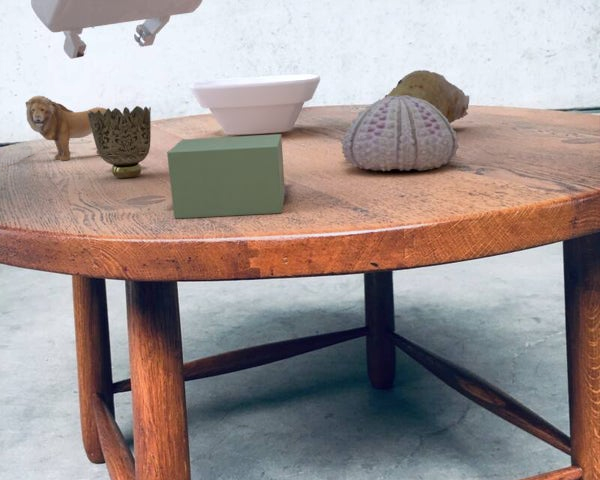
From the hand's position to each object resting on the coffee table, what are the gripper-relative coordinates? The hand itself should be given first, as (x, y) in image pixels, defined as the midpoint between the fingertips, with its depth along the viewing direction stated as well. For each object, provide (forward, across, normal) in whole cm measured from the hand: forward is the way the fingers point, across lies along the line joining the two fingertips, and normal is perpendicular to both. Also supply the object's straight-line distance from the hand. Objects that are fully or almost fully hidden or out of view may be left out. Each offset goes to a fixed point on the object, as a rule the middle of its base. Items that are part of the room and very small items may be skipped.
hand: (108, 48), depth 100 cm
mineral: (+9, -44, +17) cm, 48 cm away
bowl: (+27, -40, -4) cm, 48 cm away
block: (-4, +5, +27) cm, 28 cm away
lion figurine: (+30, -10, -10) cm, 33 cm away
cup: (+14, -2, +7) cm, 16 cm away
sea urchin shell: (-3, -21, +28) cm, 35 cm away
